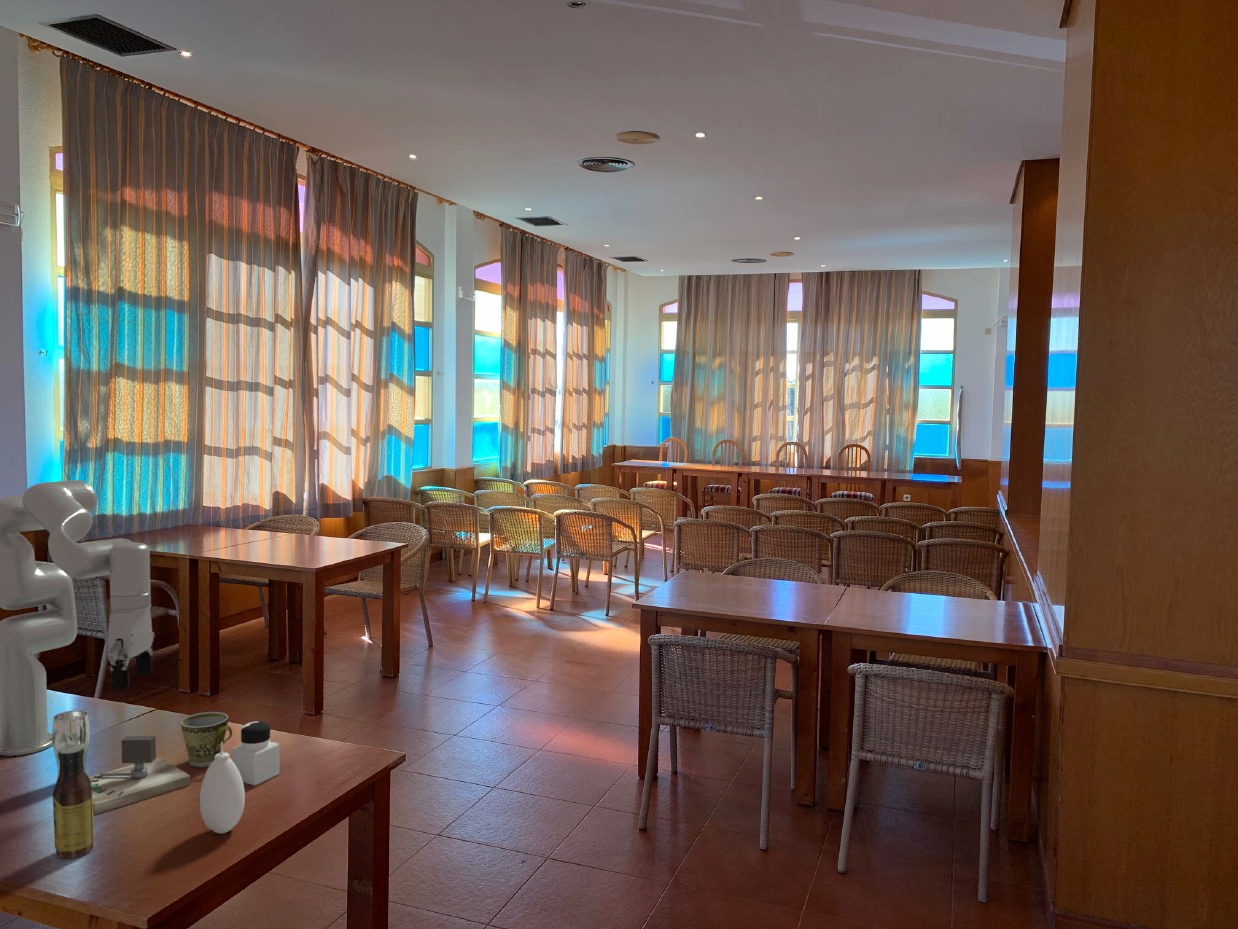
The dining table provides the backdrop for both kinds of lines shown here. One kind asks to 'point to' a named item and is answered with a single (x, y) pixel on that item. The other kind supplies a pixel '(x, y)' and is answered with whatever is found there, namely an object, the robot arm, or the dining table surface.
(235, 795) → the white air blower bulb
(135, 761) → the grey block on stem
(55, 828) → the sauce bottle
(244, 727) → the medicine bottle
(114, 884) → the dining table surface
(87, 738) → the beer glass
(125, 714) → the dining table surface
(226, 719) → the ceramic cup
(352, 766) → the dining table surface
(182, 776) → the tuner board
